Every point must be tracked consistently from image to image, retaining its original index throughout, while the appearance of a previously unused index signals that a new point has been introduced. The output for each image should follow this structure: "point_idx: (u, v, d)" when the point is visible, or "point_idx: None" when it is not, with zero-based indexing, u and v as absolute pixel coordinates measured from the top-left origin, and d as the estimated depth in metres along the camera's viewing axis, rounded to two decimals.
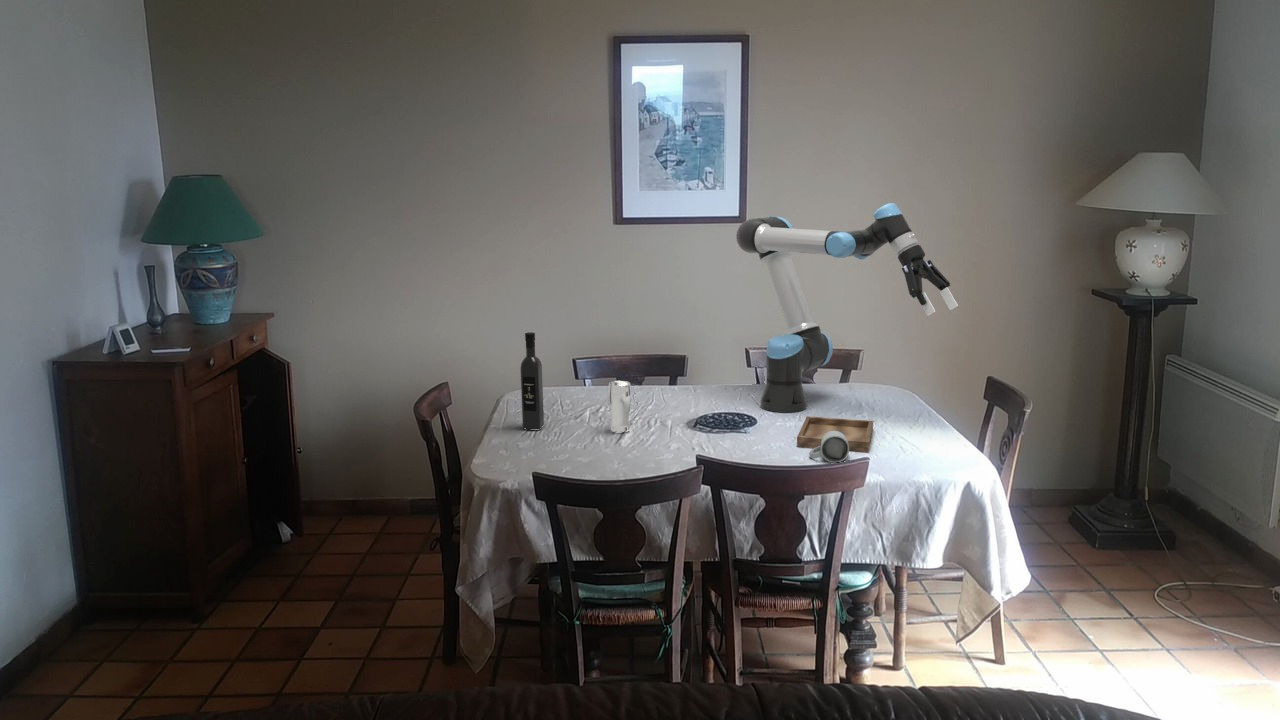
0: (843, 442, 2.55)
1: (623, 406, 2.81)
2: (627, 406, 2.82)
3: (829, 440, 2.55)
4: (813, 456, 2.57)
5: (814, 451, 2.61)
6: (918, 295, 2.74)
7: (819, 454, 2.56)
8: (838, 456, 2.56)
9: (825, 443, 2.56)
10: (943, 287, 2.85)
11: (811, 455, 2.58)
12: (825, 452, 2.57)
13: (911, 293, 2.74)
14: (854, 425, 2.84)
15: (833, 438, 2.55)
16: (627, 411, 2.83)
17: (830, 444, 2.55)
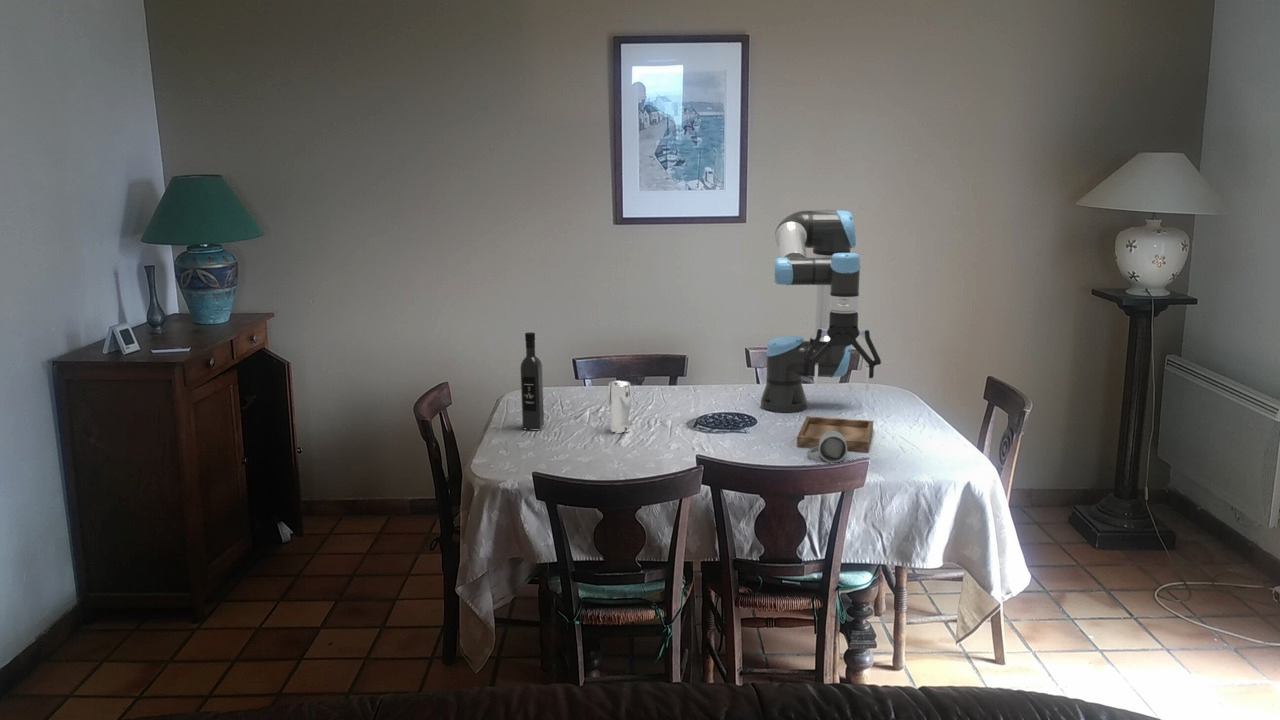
0: (841, 442, 2.55)
1: (623, 406, 2.81)
2: (627, 406, 2.82)
3: (827, 440, 2.55)
4: (811, 456, 2.57)
5: (812, 451, 2.61)
6: (810, 364, 2.55)
7: (817, 454, 2.56)
8: (836, 456, 2.56)
9: (823, 443, 2.56)
10: (869, 364, 2.51)
11: (809, 455, 2.58)
12: (823, 452, 2.57)
13: None
14: (854, 425, 2.84)
15: (831, 438, 2.55)
16: (627, 411, 2.83)
17: (828, 444, 2.56)
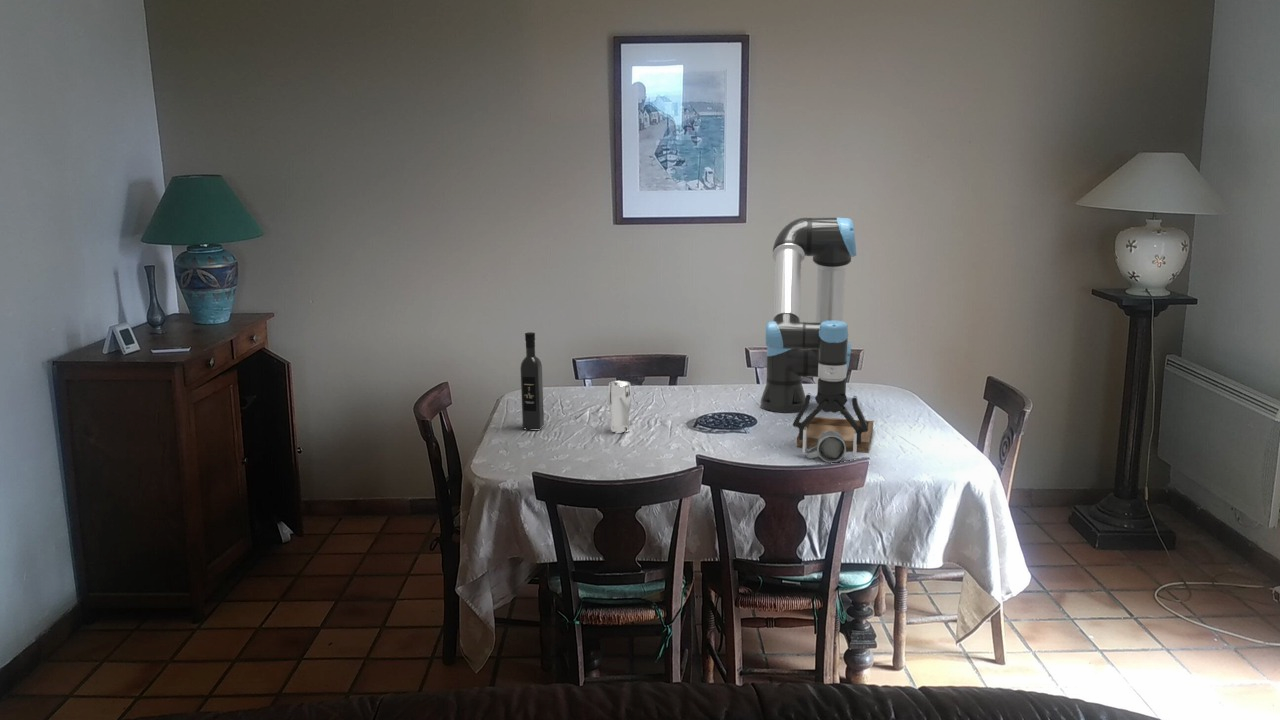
0: (840, 442, 2.55)
1: (623, 406, 2.81)
2: (627, 406, 2.82)
3: (826, 440, 2.55)
4: (810, 456, 2.57)
5: (811, 451, 2.61)
6: None
7: (816, 454, 2.56)
8: (835, 456, 2.56)
9: (822, 443, 2.56)
10: None
11: (808, 455, 2.58)
12: (822, 452, 2.57)
13: None
14: None
15: (830, 438, 2.55)
16: (627, 411, 2.83)
17: (827, 444, 2.56)
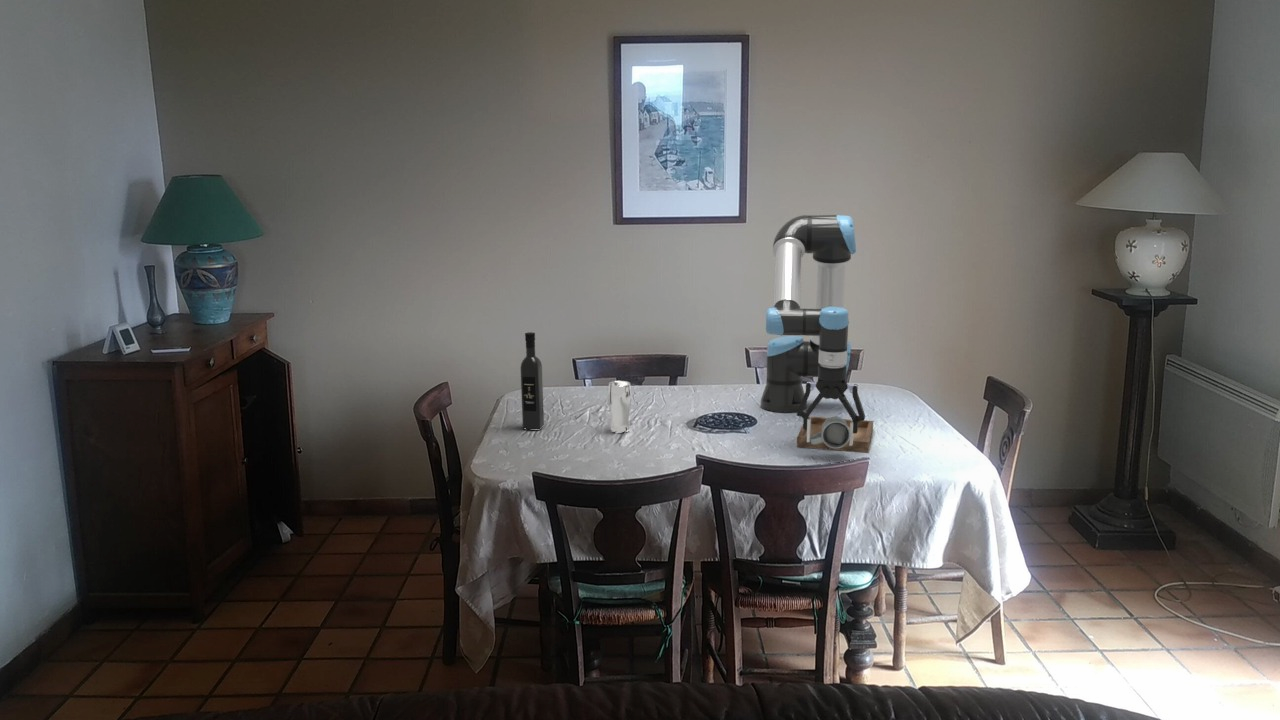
0: (844, 428, 2.55)
1: (623, 406, 2.81)
2: (627, 406, 2.82)
3: (830, 426, 2.55)
4: (814, 442, 2.57)
5: (815, 437, 2.61)
6: None
7: (820, 440, 2.55)
8: (839, 442, 2.55)
9: (826, 429, 2.56)
10: None
11: (812, 441, 2.57)
12: (826, 438, 2.57)
13: None
14: None
15: (834, 424, 2.55)
16: (627, 411, 2.83)
17: (831, 430, 2.55)
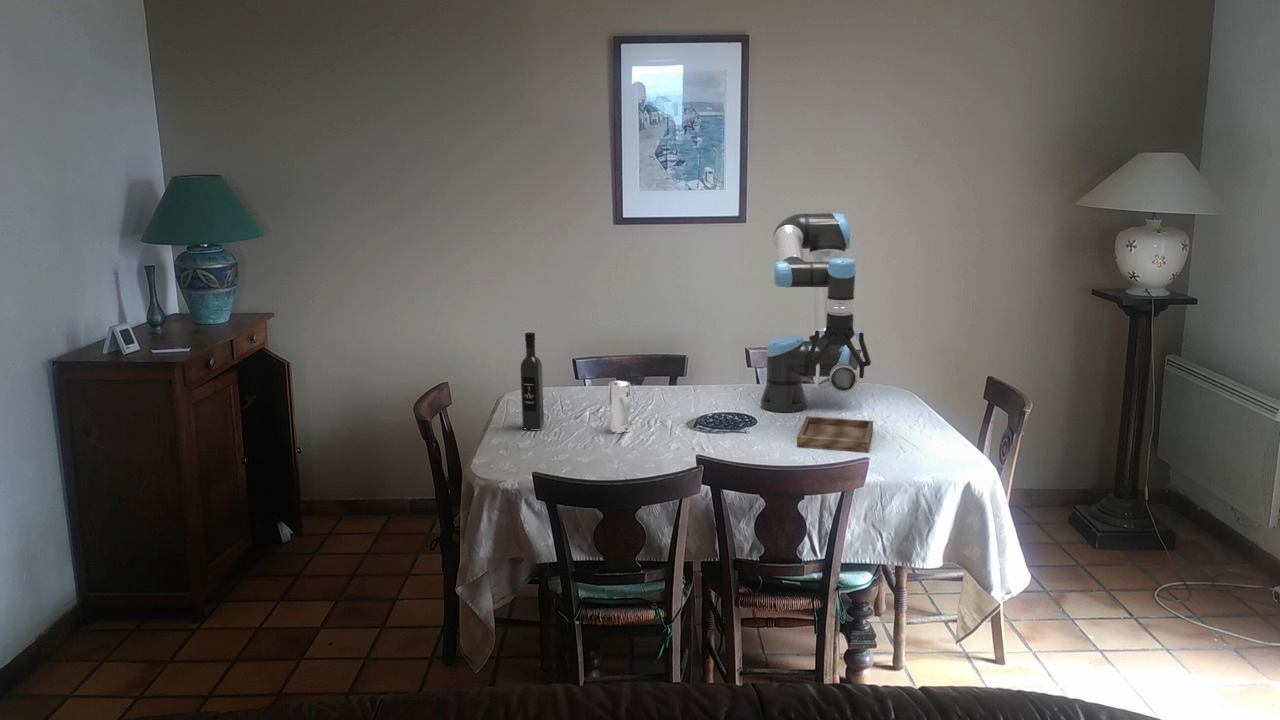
0: (851, 372, 2.69)
1: (623, 406, 2.81)
2: (627, 406, 2.82)
3: (838, 371, 2.69)
4: (822, 386, 2.71)
5: (823, 382, 2.75)
6: None
7: (828, 384, 2.70)
8: (846, 386, 2.70)
9: (834, 374, 2.70)
10: None
11: (820, 386, 2.72)
12: (834, 382, 2.71)
13: None
14: (854, 425, 2.84)
15: (841, 369, 2.69)
16: (627, 411, 2.83)
17: (839, 374, 2.70)
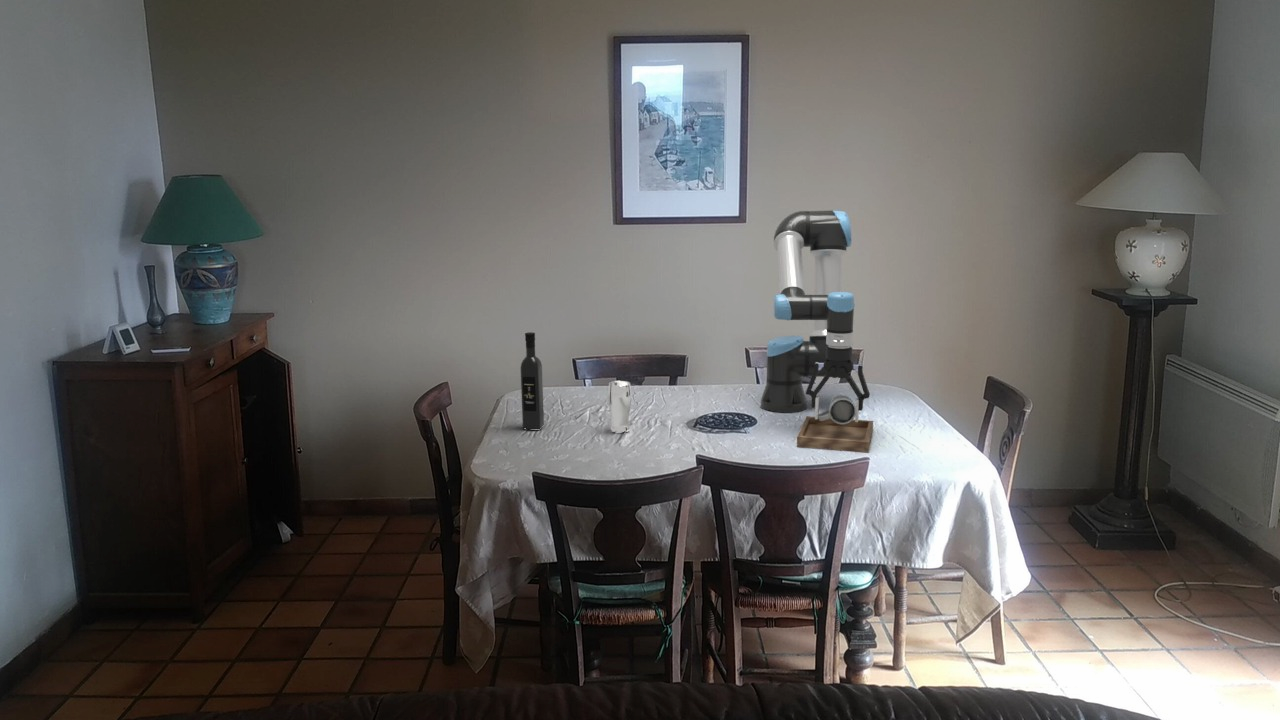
0: (850, 405, 2.72)
1: (623, 406, 2.81)
2: (627, 406, 2.82)
3: (837, 403, 2.72)
4: (822, 418, 2.73)
5: (822, 414, 2.77)
6: None
7: (827, 416, 2.72)
8: (845, 418, 2.72)
9: (833, 406, 2.73)
10: None
11: (820, 418, 2.74)
12: (833, 415, 2.74)
13: None
14: (854, 425, 2.84)
15: (841, 401, 2.72)
16: (627, 411, 2.83)
17: (838, 407, 2.72)
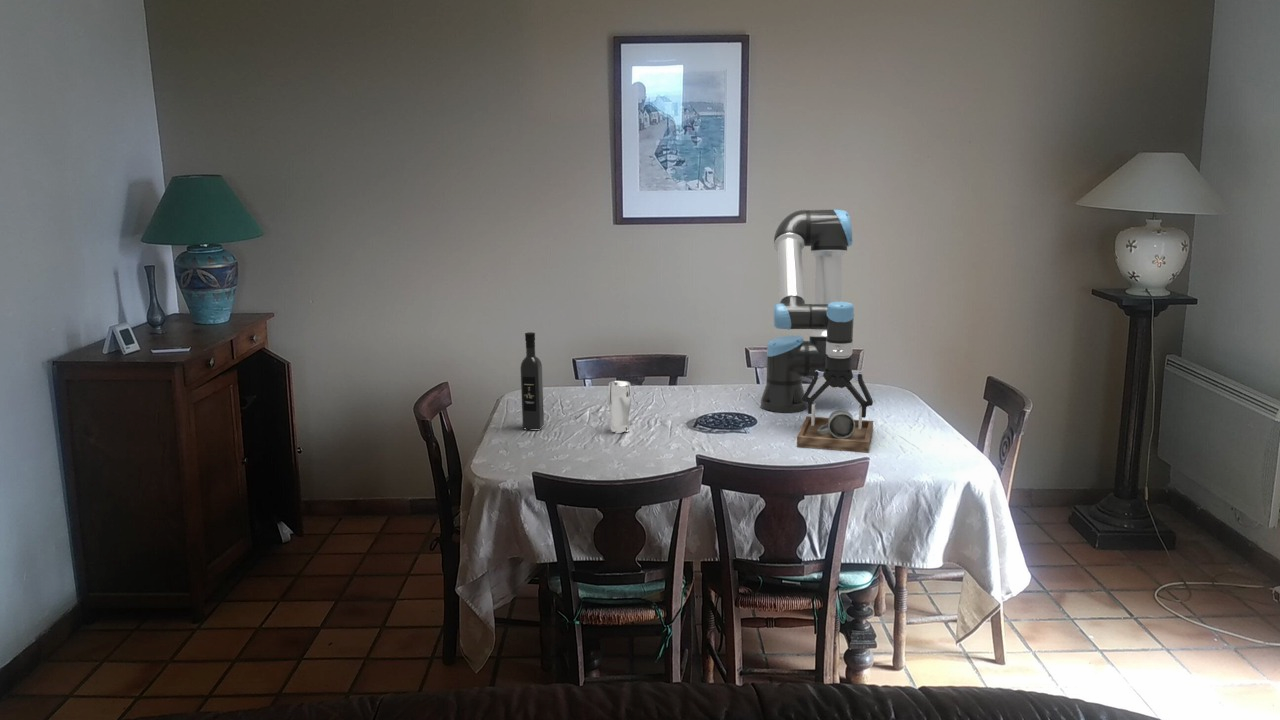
0: (849, 419, 2.73)
1: (623, 406, 2.81)
2: (627, 406, 2.82)
3: (836, 417, 2.73)
4: (821, 433, 2.75)
5: (822, 428, 2.79)
6: None
7: (827, 431, 2.73)
8: (845, 432, 2.73)
9: (832, 420, 2.74)
10: None
11: (819, 432, 2.75)
12: (832, 429, 2.75)
13: None
14: None
15: (840, 416, 2.73)
16: (627, 411, 2.83)
17: (837, 421, 2.73)
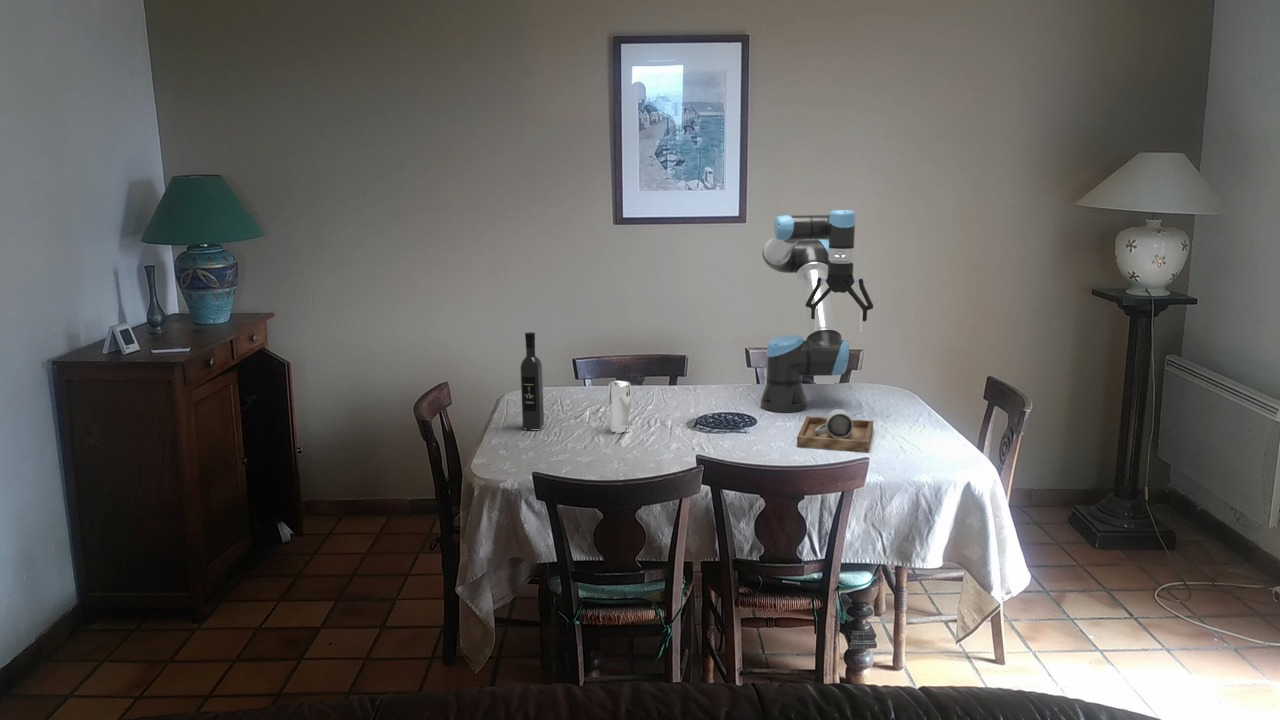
0: (847, 419, 2.73)
1: (623, 406, 2.81)
2: (627, 406, 2.82)
3: (834, 417, 2.73)
4: (819, 433, 2.75)
5: (820, 428, 2.79)
6: (811, 309, 2.89)
7: (825, 431, 2.73)
8: (842, 432, 2.73)
9: (830, 420, 2.74)
10: None
11: (817, 432, 2.75)
12: (830, 429, 2.75)
13: None
14: (854, 425, 2.84)
15: (838, 416, 2.73)
16: (627, 411, 2.83)
17: (835, 421, 2.73)
